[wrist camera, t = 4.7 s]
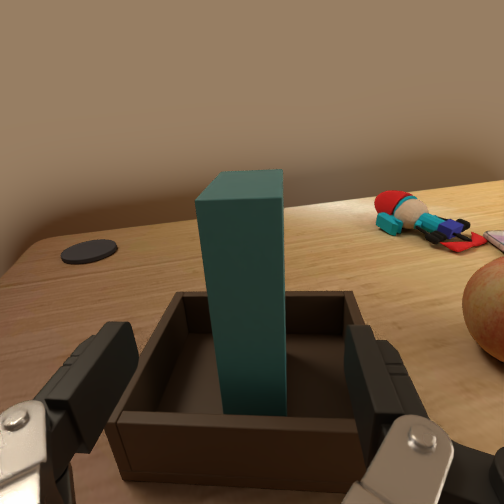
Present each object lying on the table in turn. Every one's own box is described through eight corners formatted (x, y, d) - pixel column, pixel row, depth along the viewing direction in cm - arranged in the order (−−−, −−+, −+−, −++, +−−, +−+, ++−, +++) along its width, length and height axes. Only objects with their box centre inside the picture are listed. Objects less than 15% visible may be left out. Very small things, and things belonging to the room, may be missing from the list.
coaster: (50, 264, 41) (48, 260, 41) (80, 243, 48) (79, 239, 48) (101, 263, 41) (99, 259, 40) (125, 242, 47) (124, 238, 47)
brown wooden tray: (122, 480, 16) (100, 422, 15) (184, 335, 27) (176, 291, 25) (394, 496, 15) (407, 434, 13) (348, 337, 25) (352, 290, 24)
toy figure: (485, 251, 41) (390, 207, 52) (501, 217, 38) (396, 178, 49) (449, 271, 38) (355, 220, 49) (463, 236, 35) (360, 190, 46)
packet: (224, 425, 18) (194, 199, 13) (237, 351, 23) (220, 171, 18) (287, 428, 18) (282, 196, 12) (286, 352, 23) (282, 168, 18)
